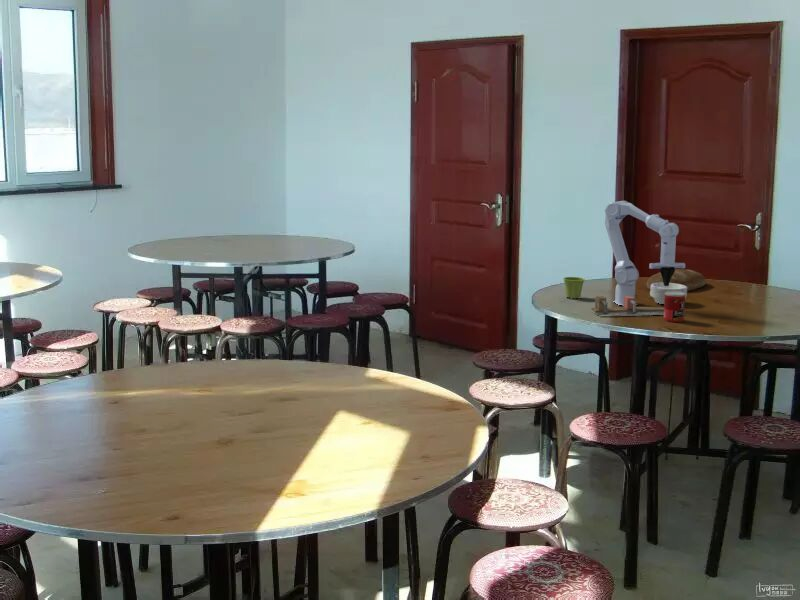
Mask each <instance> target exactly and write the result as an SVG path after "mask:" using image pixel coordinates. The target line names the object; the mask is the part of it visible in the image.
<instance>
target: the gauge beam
mask: <svg viewBox="0 0 800 600" xmlns="http://www.w3.org/2000/svg"><path fill="white" fill-rule="evenodd" d="M608 305H609V304H608V302H607V297H606V296H604V295H595V305H594V307H591V310H593V311H594V312H633V309H626V308H625V307H623V306H619V307H608ZM637 311H664V306H636V312H637Z"/></svg>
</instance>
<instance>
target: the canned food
mask: <svg viewBox="0 0 800 600" xmlns="http://www.w3.org/2000/svg"><path fill="white" fill-rule="evenodd" d="M685 306H686V298H685V293H683V292H675V291H670V292H665V300H664V305H663V307H664V316H663V320H664V321H665V322H667V321H669V322H668V323H675V322H678V323H682V322H684V320H685Z"/></svg>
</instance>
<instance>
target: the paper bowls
mask: <svg viewBox="0 0 800 600" xmlns="http://www.w3.org/2000/svg"><path fill="white" fill-rule="evenodd" d="M650 289H651V290H650ZM650 289H649V290H650V291H649V295H650V296H649V297H652V298H653V299H654V302H655V303H656V304H658V303H659V305H661V304H664V300H665V292H670V291H675V292H683V293H685V299H687V295H688V291H687V287H686V286H685V285H681V284H675V283H669V286H664V283H653V284H651V287H650Z"/></svg>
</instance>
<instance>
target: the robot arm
mask: <svg viewBox="0 0 800 600" xmlns="http://www.w3.org/2000/svg"><path fill="white" fill-rule="evenodd" d="M604 212H605V219H604V226H605V229H606V233H607V236H608V239H609V242H610V246H611V249H612V252H613V256H614V260H615V262H616V265H615V267H614V272H615V273H614V278H615V281H616V282H617V284H616V286H615V291H614V300H612V302H613V303H614V302H615V303H616V305H617V304H618V305H617V306H619V305H622V306H621V307H623V303H624V296H632V297H633V298H635V297H636V295H635V294H636V282H637V280H639V277H640V274H639V269H637V268H636V266H635V264H634V263H633V262H632V261H631V260H630V257H629V254H628V250H627V248H626V245H625V240H624V238H623V234H622V231H621V228H620V223H621V222H622V220H623V219H624V218H625V217H626V216H628V215H630V216H632V217H633V218H636V219H638V220H639V221H642V222H643V223H645V225H646V227H647V228H649V229H650V230H652V231H654V232H656V233H658V234H659V236H660V241H661V242H660V243H661V244H660V245H661V246H660V257H659V259H660V261H659V262H651V263H649V267H648V269H651V270H652V269H658V270H659V272H660V273H661V275H662V278H663V283H664V286H669V283H670V280H671V277H672V275H673V274H674V272H675V269H686V263H685V262H675V261H676V247H677V245H676V243H677V242H676V241H677V236H678V234H679V232H680V228H679V226H678V225H677V224H676V223H675V222H669V220H668V219H663V218H661V217H660V215H659V214H658V213H657V214H651V215H650V214H648V213H646V212H645V211H643V210H642V209H640V208H638V207H637V206H635V205H634V204H633V203H631V202H628V201H627V200H620V201H611V202H609V203H608V204H607V205H606V206H605V209H604ZM635 299H636V298H635ZM615 303H614V304H615ZM636 305H638V304H637V303H636Z"/></svg>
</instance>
